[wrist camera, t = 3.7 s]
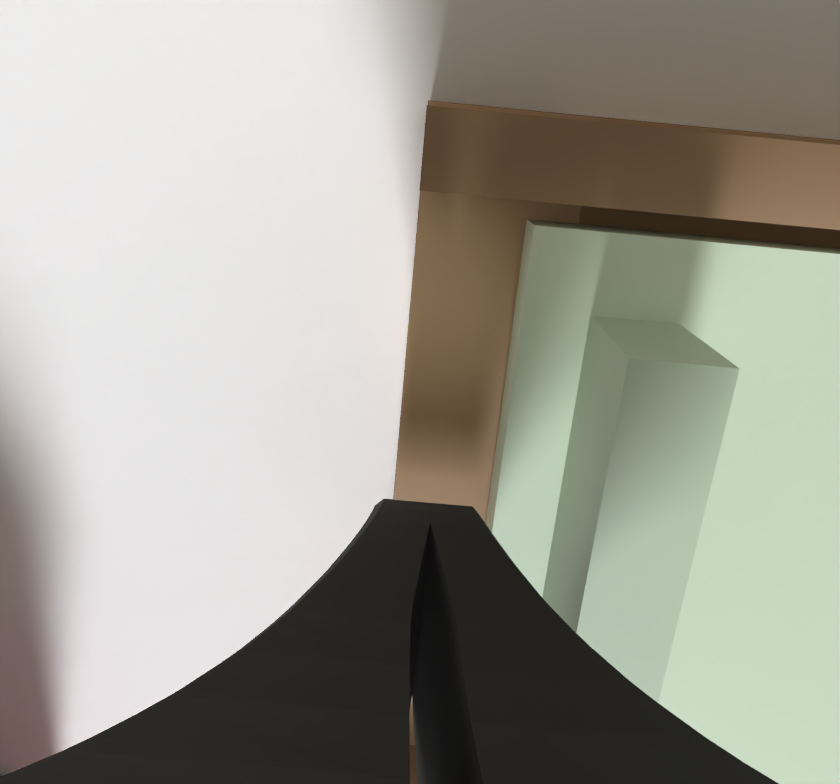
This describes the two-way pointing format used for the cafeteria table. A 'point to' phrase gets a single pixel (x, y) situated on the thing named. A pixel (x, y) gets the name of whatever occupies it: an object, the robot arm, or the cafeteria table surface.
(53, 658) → the cafeteria table surface
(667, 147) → the tan wooden frame
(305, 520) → the cafeteria table surface
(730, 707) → the cover
